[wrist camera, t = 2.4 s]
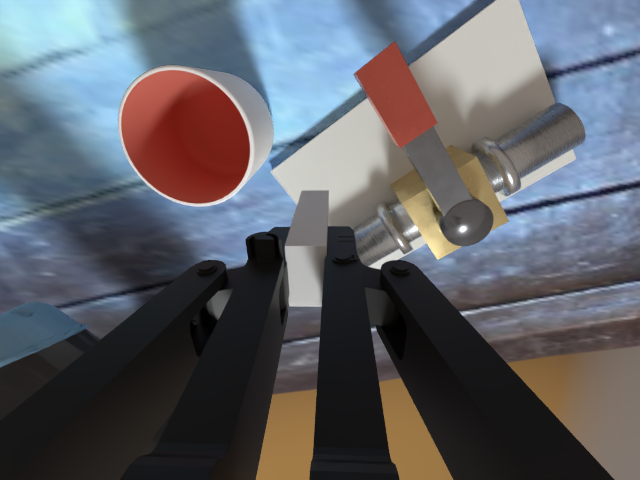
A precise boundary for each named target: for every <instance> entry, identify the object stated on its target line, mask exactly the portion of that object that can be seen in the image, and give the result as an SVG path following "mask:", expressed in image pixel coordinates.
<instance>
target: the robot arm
mask: <svg viewBox="0 0 640 480" xmlns="http://www.w3.org/2000/svg"><path fill="white" fill-rule="evenodd" d="M246 247H247V254H248V261H247V263H246V265H245V266H244V267H241V268H236V269H230V270H226V264H224V263H223V262H221V261H218V260H208V261H207V260H206V261H202V262H200V263H197V264H195V265H194V266H192V267H191V268H189V269H188V270H187V271H186V272H184V273H183V274H182V275H181V276H179V277H178V278H177V279H176V280H174V281H173V282H172V283H171V284H169V285H168V286H167V287H166V288H164V289H163V290H162V291H161V292H159V293H158V294H157V295H156V296H154V297H153V298H152V299H151V300H149V301H148V302H147V303H146V304H145V305H143V306H142V307H141V308H140V309H138V310H137V311H136V312H135V313H133V314H132V315H131V316H130V317H128V318H127V319H126V320H125V321H123V322H122V323H121V324H120V325H118V326H117V327H116V328H115V329H113V330H112V331H111V332H110V333H108V334H107V335H106V336H105V337H103V338H102V339H99V338H98V337H97V336H95V335H94V334H93V333H91V332H90V331H89V330H87V329H86V328H88V326H87V325H85V324H80V323H78V322H77V321H75V320H74V319H72V318H71V317H69V316H68V315H66V314H65V313H63V312H62V311H60V310H59V309H57V308H56V307H54V306H52V305H50V304H47V303H42V302H32V303H27V304H23V305H20V306H17V307H15V308H13V309H11V310H9V311H7V312H5V313H3V314H1V315H0V480H256V475H257V470H258V465H259V460H260V454H261V449H262V443H263V439H264V434H265V429H266V424H267V419H268V414H269V408H270V404H271V398H272V393H273V388H274V383H275V378H276V373H277V368H278V363H279V358H280V353H281V348H282V342H283V337H284V332H285V327H286V322H287V317H288V309H287V302H288V298H289V306H310V307H322V312H321V329H320V346H319V363H318V380H317V397H316V415H315V433H314V449H313V459H312V461H311V468H310V480H399V475H398V471H397V468H396V465H395V464H394V463H393V462H392V461H391V458H390V454H389V448H388V441H387V434H386V428H385V421H384V415H383V408H382V401H381V395H380V387H379V381H378V374H377V367H376V361H375V354H374V347H373V341H372V334H371V327H370V323H371V324H375V325H376V329H377V332H378V334H379V336H380V338H381V340H382V342H383V344H384V345H385V347H386V349H387V351H388V353H389V355H390V357H391V359H392V361H393V363H394V365H395V367H396V369H397V371H398V373H399V375H400V377H401V379H402V380H403V382H404V384H405V386H406V388H407V390H408V392H409V394H410V396H411V398H412V400H413V402H414V404H415V406H416V408H417V410H418V411H419V413H420V415H421V417H422V419H423V421H424V423H425V425H426V427H427V429H428V431H429V433H430V435H431V437H432V439H433V440H434V442H435V445H436V446H437V448H438V450H439V452H440V454H441V456H442V458H443V460H444V462H445V464H446V466H447V468H448V470H449V472H450V474H451V476H452V477H453V479H454V480H614V479H613V478H612V477H611V476H610V474H609V473H608V472H607V471H606V470H605V469H604V468H603V467H602V466H601V465H600V464H599V462H598V461H597V460H596V459H595V458H594V457H593V456H592V455H591V454H590V453H589V452H588V451H587V450H586V449H585V448H584V446H583V445H582V444H581V443H580V442H579V441H578V440H577V439H576V438H575V437H574V436H573V435H572V433H571V432H570V431H569V430H568V429H567V428H566V427H565V426H564V425H563V424H562V423H561V422H560V421H559V419H558V418H557V417H556V416H555V415H554V414H553V413H552V412H551V411H550V410H549V409H548V407H547V406H546V405H545V404H544V403H543V402H542V401H541V400H540V399H539V398H538V397H537V396H536V395H535V393H534V392H533V391H532V390H531V389H530V388H529V387H528V386H527V385H526V384H525V383H524V382H523V380H522V379H521V378H520V377H519V376H518V375H517V374H516V373H515V372H514V371H513V370H512V369H511V367H510V366H509V365H508V364H507V363H506V362H505V361H504V360H503V359H502V358H501V357H500V356H499V355H498V353H497V352H496V351H495V350H494V349H493V348H492V347H491V346H490V345H489V344H488V343H487V342H486V340H485V339H484V338H483V337H482V336H481V335H480V334H479V333H478V332H477V331H476V330H475V329H474V328H473V326H472V325H471V324H470V323H469V322H468V321H467V320H466V319H465V318H464V317H463V316H462V315H461V313H460V312H459V311H458V310H457V309H456V308H455V307H454V306H453V305H452V304H451V303H450V302H449V301H448V299H447V298H446V297H445V296H444V295H443V294H442V293H441V292H440V291H439V290H438V289H437V288H436V287H435V285H434V284H433V283H432V282H431V281H430V280H429V279H428V278H427V277H426V276H425V275H424V274H423V272H422V271H421V270H420V269H419V268H418V267H417V266H415V265H414V264H412V263H409V262H407V261H402V260H391V261H387V262H385V263H384V264H382V266H381V269H376V268H372V267H368V266H366V265H364V264H362V263H361V260H360V258H359V256H358V255H357V249H356V242H355V234H354V230H352V229H351V228H350V227H349V226H329V190H305V191H301V194H300V198H299V201H298V204H297V207H296V211H295V214H294V217H293V220H292V224H291V227H274V228H273V229H271V230H270V231H269V232H259V233H255V234H252V235H250V236H248V237H247V238H246Z"/></svg>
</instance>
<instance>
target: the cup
mask: <svg viewBox="0 0 640 480" xmlns="http://www.w3.org/2000/svg"><path fill="white" fill-rule="evenodd" d="M118 129H119V136H120V141H121V144H122V147H123V150H124V152H125V155H126V157H127V159H128V161H129V163H130V164H131V166H132V167H133V169H134V170H135V172H136V173H137V174H138V175H139V177H140V178H141V179H142V180H143V181H144V182H145V183H146V184H147V185H148V186H149V187H151V188H152V189H153V190H154V191H156V192H157V193H159V194H160V195H162V196H164V197H165V198H167V199H170V200H172V201H174V202H177V203H180V204H184V205H189V206H210V205H215V204H218V203H221V202H224V201H226V200H227V199H229V198H231V197H232V196H233V195H235V194H236V193H237V192H238V191H239V190H240V189H241V188H242V187H243V186H244V185H245V184H246V182H247V181H248V180H249V179H250V178H251V177H252V176H253V175H254V174H255V172H256V171H257V170H258V169H259V168H260V167H261V166H262V165H263V163H264V162H265V161H266V159H267V157H268V156H269V153H270V151H271V148H272V144H273V137H274V128H273V121H272V117H271V114H270V111H269V109H268V107H267V105H266V103H265V101H264V99H263V98H262V97H261V95H260V94H259V93H258V92H257V91H256V89H255V88H253V87H252V86H251V85H250V84H249V83H247V82H246V81H244V80H243V79H241V78H239V77H237V76H235V75H232V74H229V73H225V72H219V71H213V70H206V69H200V68H194V67H187V66H181V65H166V66H160V67H156V68H153V69H151V70H149V71H147V72H145V73H143V74H142V75H140V76H139V77H137V78H136V79H135V80H134V81H133V82H132V83H131V85H130V86H129V87H128V89H127V90H126V92H125V94H124V96H123V99H122V101H121V104H120V109H119V115H118Z"/></svg>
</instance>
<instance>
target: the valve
mask: <svg viewBox="0 0 640 480" xmlns="http://www.w3.org/2000/svg"><path fill="white" fill-rule="evenodd" d="M584 140H585V130H584V126H583V124H582V122H581V120H580V118H579V117H578V116H577V114H576V113H575V112H574V111H573V110H572V109H570V108H569V107H568V106H566V105H564V104H561V103H553V104H551V105H550V106H548V107H546V108H545V109H543V110H542V111H540V112H538V113H537V114H535V115H534V116H532V117H530V118H529V119H527V120H526V121H524V122H522V123H521V124H519V125H518V126H516V127H515V128H513V129H511V130H510V131H508V132H507V133H505V134H503V135H502V136H500V137H499V138H497V139H495V140H492V139H491V138H489V137H483V138H481V139H480V140H478V141H476V142H475V143H473V144H472V150H473V152H474V153H473V154H469V153H467V152H465V151H463V150H461V149H459V148H457V147H454V146H452V145H450V146H449V147H447V148H446V151H447V152H448V154H449V156H450V158H451V160H452V162H453V164H454V166H455V167H456V169H457V171H458V173H459V175H460V177H461V179H462V181H463V182H464V184H465V186H466V188H467V190H468V192H469V194H470V195H472V196H474V197H476V198H477V199H479V200H480V201H482V202H483V203H484V204H486V205H487V206H488V207H489V208H490V209H491V211H492V213H493V218H494V221H493V226H492V228H491V230H490V231H492V230H494V229H495V228H497V227H499V226H501V225H503V224H505V223H506V222H508V221H509V220H508V218H507V216H506V214H505V212H504V210H503V208H502V206H501V204H500V202H499V200H498V198H497V196H496V194H495V193H497V192H499V193H500V194H502V195H504V196H509V195H511V194H513V193H515V192H516V191H518V190H520V188H521V181H520V179H522V178H523V177H525V176H527V175H529V174H530V173H532V172H534V171H536V170H537V169H539V168H541V167H542V166H544V165H546V164H548V163H549V162H551V161H553V160H555V159H556V158H558V157H560V156H562V155H563V154H565V153H567V152H569V151H570V150H572V149H574V148H576V147H577V146H579V145H581V144H582V143H583V142H584ZM390 186H391V187H392V189H393V190H394V192H395V194H396V195H397V197H398V198H399V200H398V201H396V202H395V203H393V204H392V205H390V206H388V207H387V206H386V204H385V203H384V202H383V201H382V202H381V203H379V204H377V205H376V206H374V207H375V210H376V212H377V214H376V215H374V216H372V217H371V218H369V219H368V220H366V221H364V222H363V223H361V224H360V225H358V226H356V227H355V228H353V229H352V230H354V234H355V242H356V249H357V255H358V256H359V258H360V260H361V263H362V264H364V265H366V266H370V265H372V264H374V263H375V262H377V261H379V260H381V259H382V258H384V257H386V256H388V255H389V254H391V253H393V252H395V251H396V250H398V249H400V250H401V251H402V253H403V254H407V253H408V252H410V251H412V250H413V247H412V245H411V243H410V242H412V241H414V240H415V239H417V238H419V237H421V236H423V238H424V239H425V241H426V242H427V244H428V246H429V247H430V249H431V250H432V252H433V253H434V255H435V256H436V258H437V260H438V259H440V258H442V257H444V256H445V255H447V254H449V253H451V252H453V251H455V250H457V249H458V248H460V247H462V246H457V245H454V244H452V243H450V242H449V241H448V240H447V239H446V238H445V236H444V235H443V234H442V233H441V231H440V230H439V229H438V227H437V224H436V215H437V212H438V210H439V209H438V208H437V206H436V204H435V203H434V201H433V199H432V198H431V196H430V194H429V193H428V191H427V189H426V187H425V186H424V184H423V182H422V181H421V179H420V177H419V176H418V174H417V172H416V171H415V169H413V170H412V171H410V172H409V173H407V174H406V175H404V176H403V177H401V178H400V179H398V180H396V181H395V182H393V183H392V184H390Z"/></svg>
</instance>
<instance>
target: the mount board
mask: <svg viewBox="0 0 640 480" xmlns="http://www.w3.org/2000/svg"><path fill="white" fill-rule="evenodd" d="M408 67H409V69H410V71H411V73H412V75H413V77H414V79H415V80H416V82H417V84H418V86H419V88H420V90H421V92H422V94H423V96H424V98H425V99H426V101H427V103H428V105H429V107H430V109H431V111H432V113H433V115H434V117H435V119H436V120H437V122H438V123H437V124H436V125H434V128H435V130H436V132H437V134H438V136H439V137H440V139H441V141H442V143H443V145H444V147H445V149H446V148H447V147H449V146H450V145H452V146H454V147H457V148H459V149H461V150H463V151H465V152H467V153H469V154H473V153H474V152H473V150H472V144H473V143H475V142H476V141H478V140H480V139H481V138H483V137H489V138H491V139H492V140H495V139H497V138H499V137H500V136H502V135H503V134H505V133H507V132H508V131H510V130H511V129H513V128H515V127H516V126H518V125H519V124H521V123H522V122H524V121H526V120H527V119H529V118H530V117H532V116H534V115H535V114H537V113H538V112H540V111H542V110H543V109H545V108H546V107H548V106H550V105H551V104H553V103H556V102H555V99H554V96H553V94H552V91H551V88H550V85H549V83H548V80H547V77H546V74H545V72H544V69H543V66H542V63H541V61H540V58H539V55H538V52H537V50H536V47H535V44H534V41H533V38H532V36H531V33H530V30H529V27H528V25H527V22H526V19H525V16H524V14H523V11H522V8H521V5H520V3H519V0H494V1H493V2H492V3H490V4H489V5H488V6H487V7H485V8H484V9H483V10H481V11H480V12H479V13H477V14H476V15H475V16H473V17H472V18H471V19H469V20H468V21H467V22H465V23H464V24H463V25H462V26H460V27H459V28H458V29H456V30H455V31H454V32H452V33H451V34H450V35H448V36H447V37H446V38H444V39H443V40H442V41H441V42H439V43H438V44H437V45H435V46H434V47H433V48H431V49H430V50H429V51H427V52H426V53H425V54H423V55H422V56H421V57H419V58H418V59H417V60H416V61H414V62H413V63H412V64H410V65H409V66H408ZM575 159H576V157H575V154H574V152H573V149H572V150H570V151H569V152H567V153H565V154H563V155H562V156H560V157H558V158H556V159H555V160H553V161H551V162H549V163H548V164H546V165H544V166H542V167H541V168H539V169H537V170H536V171H534V172H532V173H530V174H529V175H527V176H525V177H523V178H522V179H520V181H521V188H520V190H522V189H524V188H526V187H527V186H529V185H531V184H533V183H534V182H536V181H538V180H540V179H542V178H543V177H545V176H547V175H549V174H550V173H552V172H554V171H556V170H558V169H559V168H561V167H563V166H565V165H566V164H568V163H570V162H572V161H573V160H575ZM413 169H414V167H413V165H412V164H411V162H410V160H409V159H408V157H407V155H406V154H405V152H404V150H403V149H402V148H399V147H398V146H396V145H395V143H394V142H393V140H392V138H391V137H390V135H389V133H388V132H387V130H386V128H385V127H384V125H383V123H382V122H381V120H380V118H379V117H378V115H377V113H376V112H375V110H374V108H373V107H372V105H371V103H370V102H369V100H368V98H366V99H364V100H363V101H362V102H360V103H359V104H358V105H356V106H355V107H354V108H352V109H351V110H350V111H348V112H347V113H346V114H344V115H343V116H342V117H341V118H339V119H338V120H337V121H335V122H334V123H333V124H331V125H330V126H329V127H327V128H326V129H325V130H323V131H322V132H321V133H320V134H318V135H317V136H316V137H314V138H313V139H312V140H310V141H309V142H308V143H306V144H305V145H304V146H302V147H301V148H300V149H298V150H297V151H296V152H295V153H293V154H292V155H291V156H289V157H288V158H287V159H285V160H284V161H283V162H281V163H280V164H279V165H277V166H276V167H275V168H273V169H272V170H271V173H272V174H273V175H274V177H275V178H276V179H277V180H278V182H279V183H280V184H281V185H282V187H283V188H284V189H285V191H286V192H287V193H288V194H289V196H290V197H291V198H292V199H293V201H294V202H295V203H296V204H298V201H299V198H300V194H301V191H305V190H329V226H349V227H350V228H351V229H353V228H355V227H356V226H358V225H360V224H361V223H363V222H364V221H366V220H368V219H369V218H371V217H372V216H374V215H376V214H377V212H376V210H375V207H374V206H376V205H377V204H379V203H381V202H382V201H383V202H384V203H385V204H386V206H387V207H388V206H390V205H392V204H393V203H395V202H396V201H398V200H399V198H398V197H397V195H396V194H395V192H394V190H393V189H392V187H391V186H390V184H392V183H393V182H395V181H396V180H398V179H400V178H401V177H403V176H404V175H406V174H407V173H409V172H410V171H412V170H413ZM520 190H518V191H516V192H515V193H517V192H519V191H520ZM515 193H513V194H515ZM495 194H496V196H497V198H498V200H499V202H501V201H503V200H504V199H506V198H508V197H510V196H511V195H513V194H511V195H509V196H504V195H502V194H500V193H499V192H497V193H495ZM410 243H411V245H412V247H413V250H412V251H414V250H416V249H417V248H419V247H421V246H423V245H425V244H426V243H427V242H426V241H425V239H424V238H423V236H421V237H419V238H417V239H415V240H414V241H412V242H410ZM412 251H410V252H412ZM410 252H408V253H407V254H409V253H410ZM407 254H403V253H402V251H401V250H400V249H398V250H396V251H395V252H393V253H391V254H389V255H388V256H386V257H384V258H382V259H381V260H379V261H377V262H375V263H374V264H372V265H370V266H368V267H372V268H376V269H381V266H382V264H384V263H385V262H387V261H391V260H398V259H400V258H401V257H403V256H405V255H407Z"/></svg>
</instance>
